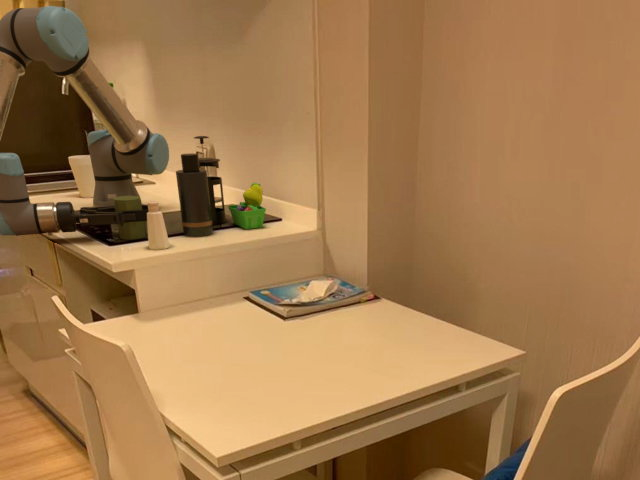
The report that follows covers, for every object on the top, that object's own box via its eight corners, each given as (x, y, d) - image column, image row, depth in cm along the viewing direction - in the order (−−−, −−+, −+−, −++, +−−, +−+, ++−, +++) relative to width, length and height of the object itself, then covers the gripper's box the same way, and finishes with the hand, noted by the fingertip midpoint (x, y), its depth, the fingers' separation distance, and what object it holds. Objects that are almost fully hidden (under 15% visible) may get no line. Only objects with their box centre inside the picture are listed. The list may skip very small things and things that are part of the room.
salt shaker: (156, 250, 173) (149, 204, 167) (144, 247, 176) (137, 202, 170) (174, 246, 176) (168, 201, 171) (162, 243, 179) (155, 199, 174)
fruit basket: (228, 224, 201) (224, 182, 196) (256, 220, 205) (253, 179, 199) (243, 230, 193) (239, 187, 187) (272, 227, 196) (269, 184, 191)
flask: (180, 232, 192) (170, 153, 182) (209, 229, 195) (201, 152, 185) (187, 237, 185) (177, 156, 175) (216, 235, 188) (208, 155, 178)
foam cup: (106, 196, 247) (99, 156, 240) (80, 199, 242) (72, 158, 236) (98, 193, 254) (91, 154, 247) (73, 195, 249) (65, 156, 243)
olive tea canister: (118, 235, 189) (111, 197, 184) (143, 233, 191) (137, 195, 186) (121, 240, 183) (115, 200, 178) (148, 238, 186) (142, 198, 181)
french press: (231, 223, 201) (222, 136, 190) (199, 226, 198) (188, 138, 186) (220, 217, 211) (211, 133, 199) (189, 219, 207) (179, 135, 196)
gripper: (65, 225, 191) (150, 220, 196) (57, 240, 174) (150, 234, 179) (59, 196, 187) (146, 192, 192) (50, 209, 170) (146, 204, 175)
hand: (148, 212), depth 185 cm, fingers closed on olive tea canister, 7 cm apart
